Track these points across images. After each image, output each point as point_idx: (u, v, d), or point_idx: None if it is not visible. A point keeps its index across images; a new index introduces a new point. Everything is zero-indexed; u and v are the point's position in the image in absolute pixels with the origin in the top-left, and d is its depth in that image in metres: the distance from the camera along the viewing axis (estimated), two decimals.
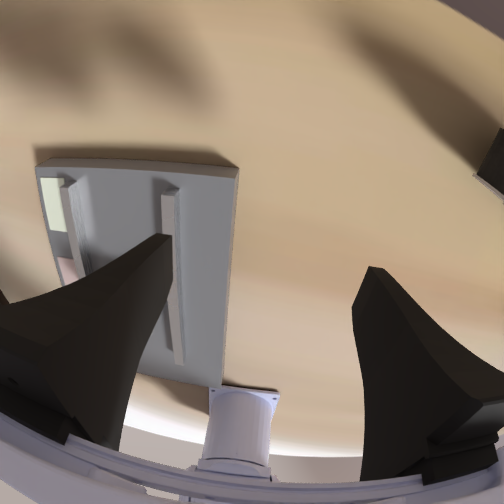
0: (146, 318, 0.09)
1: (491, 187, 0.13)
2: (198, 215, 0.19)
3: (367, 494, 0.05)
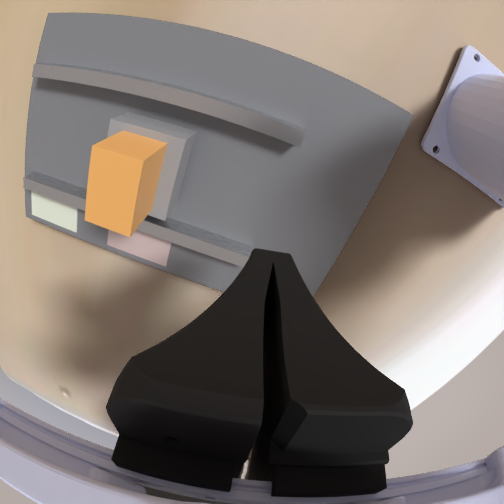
0: None
1: None
2: (70, 45, 0.12)
3: (367, 494, 0.05)
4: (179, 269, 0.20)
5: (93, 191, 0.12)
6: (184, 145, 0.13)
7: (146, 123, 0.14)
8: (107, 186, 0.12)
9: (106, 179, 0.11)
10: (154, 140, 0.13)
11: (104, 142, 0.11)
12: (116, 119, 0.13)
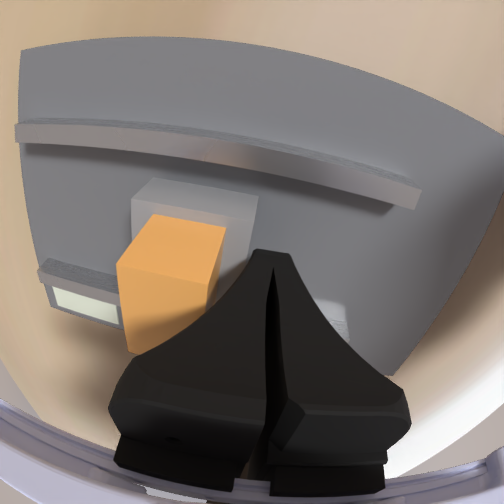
0: None
1: None
2: (59, 90, 0.10)
3: (367, 494, 0.05)
4: None
5: (133, 322, 0.08)
6: (252, 228, 0.10)
7: (185, 196, 0.10)
8: (153, 316, 0.08)
9: (150, 308, 0.08)
10: (205, 224, 0.10)
11: (133, 251, 0.08)
12: (140, 197, 0.10)
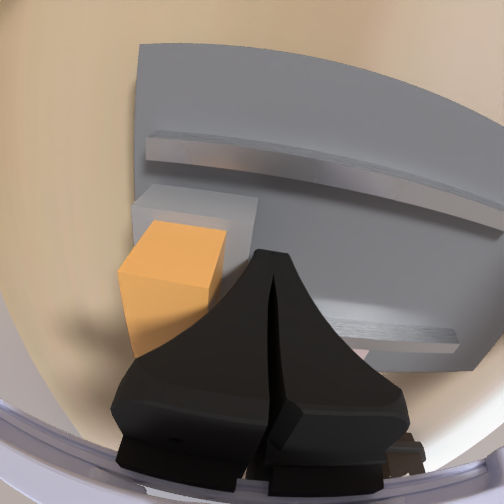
0: None
1: None
2: (205, 102, 0.10)
3: (367, 494, 0.05)
4: (373, 365, 0.16)
5: (138, 327, 0.08)
6: (252, 230, 0.10)
7: (185, 201, 0.10)
8: (157, 321, 0.08)
9: (153, 314, 0.08)
10: (205, 228, 0.10)
11: (134, 257, 0.08)
12: (140, 204, 0.10)
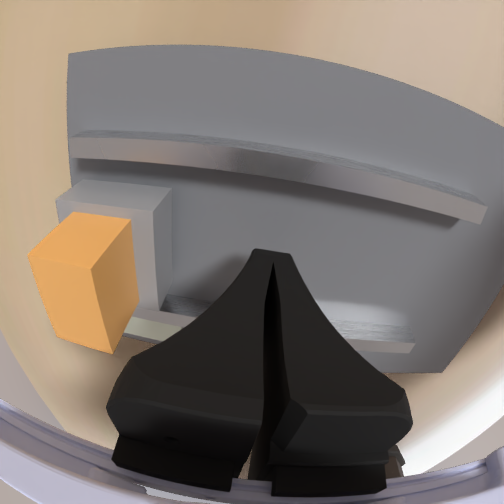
0: None
1: None
2: (122, 100, 0.10)
3: (367, 494, 0.05)
4: None
5: (51, 307, 0.08)
6: (153, 218, 0.10)
7: (101, 194, 0.10)
8: (63, 301, 0.08)
9: (58, 293, 0.08)
10: (113, 217, 0.10)
11: (44, 243, 0.08)
12: (62, 198, 0.10)
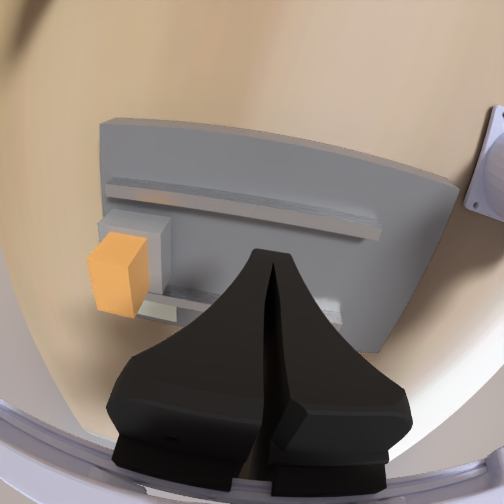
0: None
1: None
2: (138, 160, 0.17)
3: (367, 494, 0.05)
4: None
5: (98, 290, 0.15)
6: (160, 237, 0.17)
7: (127, 220, 0.17)
8: (106, 286, 0.15)
9: (104, 281, 0.15)
10: (136, 236, 0.17)
11: (96, 252, 0.15)
12: (102, 222, 0.16)
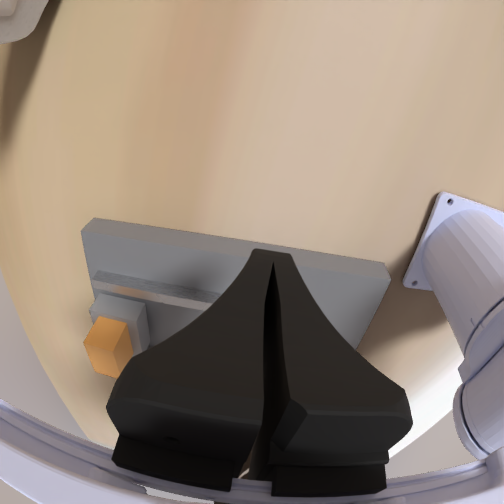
0: None
1: None
2: (115, 261, 0.21)
3: (367, 494, 0.05)
4: None
5: (94, 361, 0.20)
6: (136, 323, 0.21)
7: (111, 307, 0.21)
8: (100, 359, 0.19)
9: (98, 357, 0.19)
10: (118, 321, 0.21)
11: (89, 336, 0.19)
12: (92, 309, 0.21)
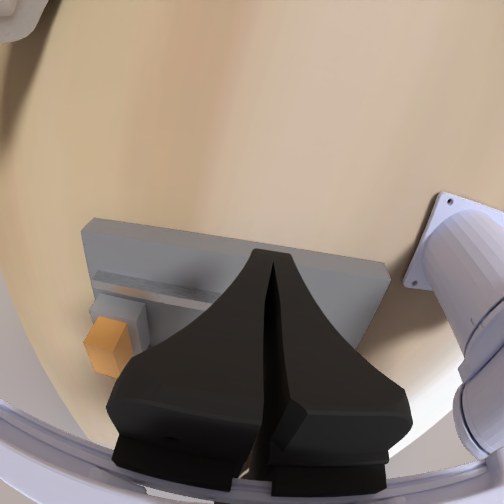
0: None
1: None
2: (115, 261, 0.21)
3: (367, 494, 0.05)
4: None
5: (94, 361, 0.20)
6: (136, 323, 0.21)
7: (111, 307, 0.21)
8: (100, 359, 0.19)
9: (98, 357, 0.19)
10: (118, 321, 0.21)
11: (89, 336, 0.19)
12: (92, 309, 0.21)
